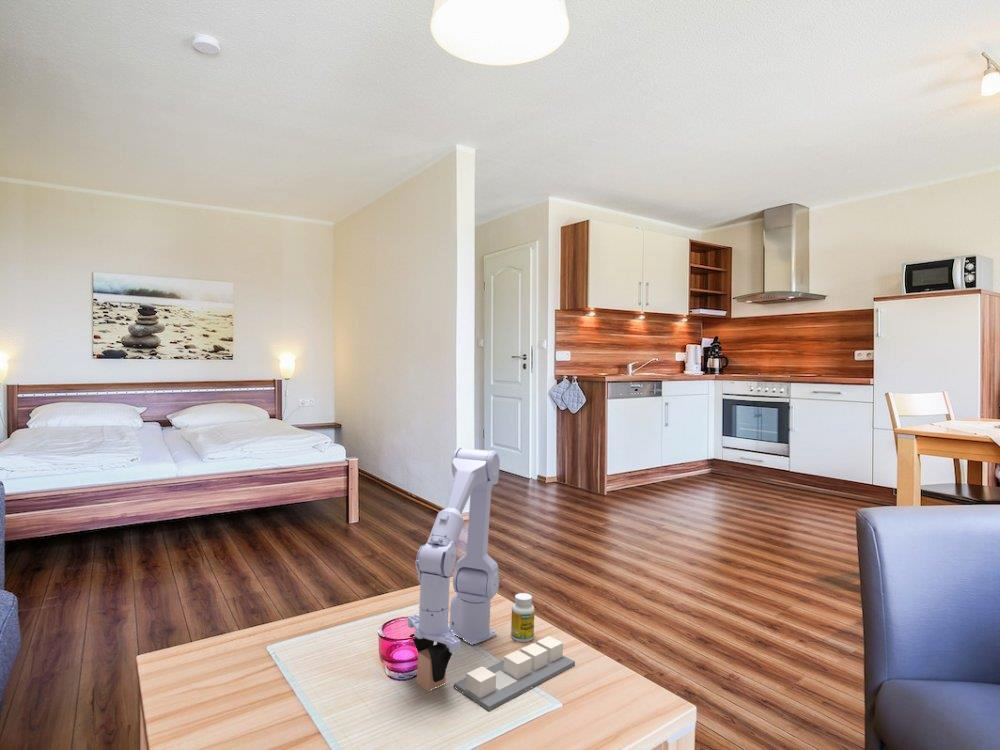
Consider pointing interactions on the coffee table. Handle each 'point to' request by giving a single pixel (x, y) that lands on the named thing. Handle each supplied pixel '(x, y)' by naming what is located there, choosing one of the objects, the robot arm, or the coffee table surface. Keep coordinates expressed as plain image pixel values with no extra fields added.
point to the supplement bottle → (522, 618)
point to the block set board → (519, 684)
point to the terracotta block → (426, 671)
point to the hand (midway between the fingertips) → (431, 675)
